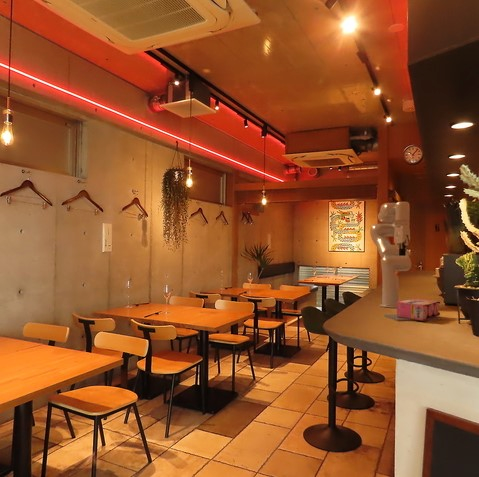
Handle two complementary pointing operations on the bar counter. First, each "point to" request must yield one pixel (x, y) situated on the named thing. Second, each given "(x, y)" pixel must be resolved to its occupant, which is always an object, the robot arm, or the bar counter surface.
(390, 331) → the bar counter surface
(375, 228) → the robot arm
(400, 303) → the gum box
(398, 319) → the mat
